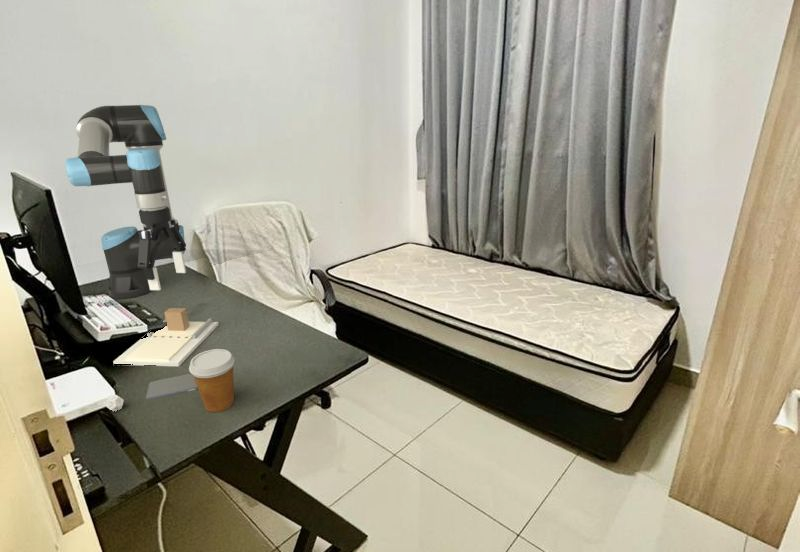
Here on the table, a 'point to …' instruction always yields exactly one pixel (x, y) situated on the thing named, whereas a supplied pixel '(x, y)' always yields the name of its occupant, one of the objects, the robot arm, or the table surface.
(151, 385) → the smartphone
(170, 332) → the tabbed cream panel
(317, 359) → the table surface
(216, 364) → the disposable coffee cup
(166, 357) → the ticket board
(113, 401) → the game die
